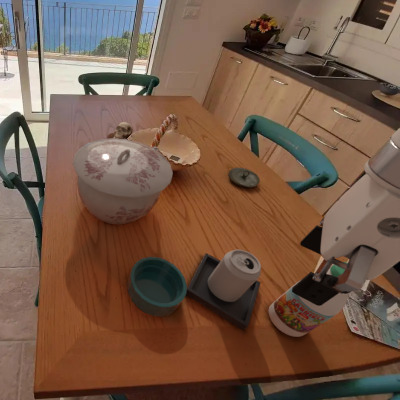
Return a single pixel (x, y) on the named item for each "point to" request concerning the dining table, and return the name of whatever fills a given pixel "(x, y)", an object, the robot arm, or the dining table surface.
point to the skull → (122, 131)
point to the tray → (230, 311)
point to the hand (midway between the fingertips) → (308, 271)
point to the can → (234, 275)
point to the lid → (244, 177)
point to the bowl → (156, 286)
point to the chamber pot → (120, 178)
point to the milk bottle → (305, 310)
